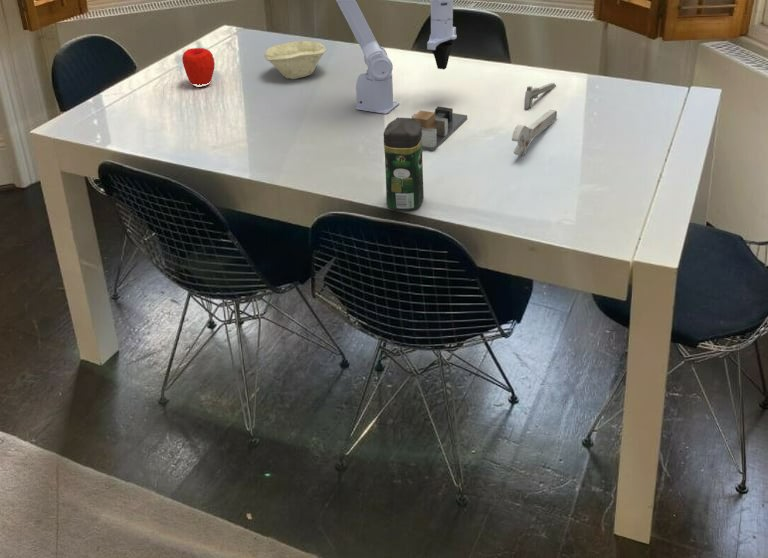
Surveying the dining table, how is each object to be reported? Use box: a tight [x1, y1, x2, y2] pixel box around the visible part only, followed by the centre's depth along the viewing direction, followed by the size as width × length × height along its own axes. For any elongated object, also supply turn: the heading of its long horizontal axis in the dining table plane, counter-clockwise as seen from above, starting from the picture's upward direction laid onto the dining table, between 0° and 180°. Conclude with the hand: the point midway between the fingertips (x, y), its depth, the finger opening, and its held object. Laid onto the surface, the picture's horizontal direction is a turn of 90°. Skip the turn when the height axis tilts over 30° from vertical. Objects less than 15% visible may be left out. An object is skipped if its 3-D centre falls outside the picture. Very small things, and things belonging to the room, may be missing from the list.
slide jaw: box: [411, 106, 454, 136], centre depth 235 cm, size 9×11×4 cm
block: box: [411, 110, 435, 129], centre depth 229 cm, size 4×5×6 cm
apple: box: [181, 47, 216, 85], centre depth 269 cm, size 9×9×11 cm
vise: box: [422, 111, 468, 152], centre depth 235 cm, size 9×22×5 cm, turn 154°
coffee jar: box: [383, 117, 425, 212], centre depth 199 cm, size 10×8×19 cm
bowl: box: [263, 40, 327, 80], centre depth 273 cm, size 14×18×15 cm
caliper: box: [523, 82, 557, 111], centre depth 252 cm, size 20×1×6 cm, turn 149°
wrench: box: [511, 109, 558, 156], centre depth 228 cm, size 8×2×30 cm
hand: (441, 68), depth 249 cm, fingers closed
